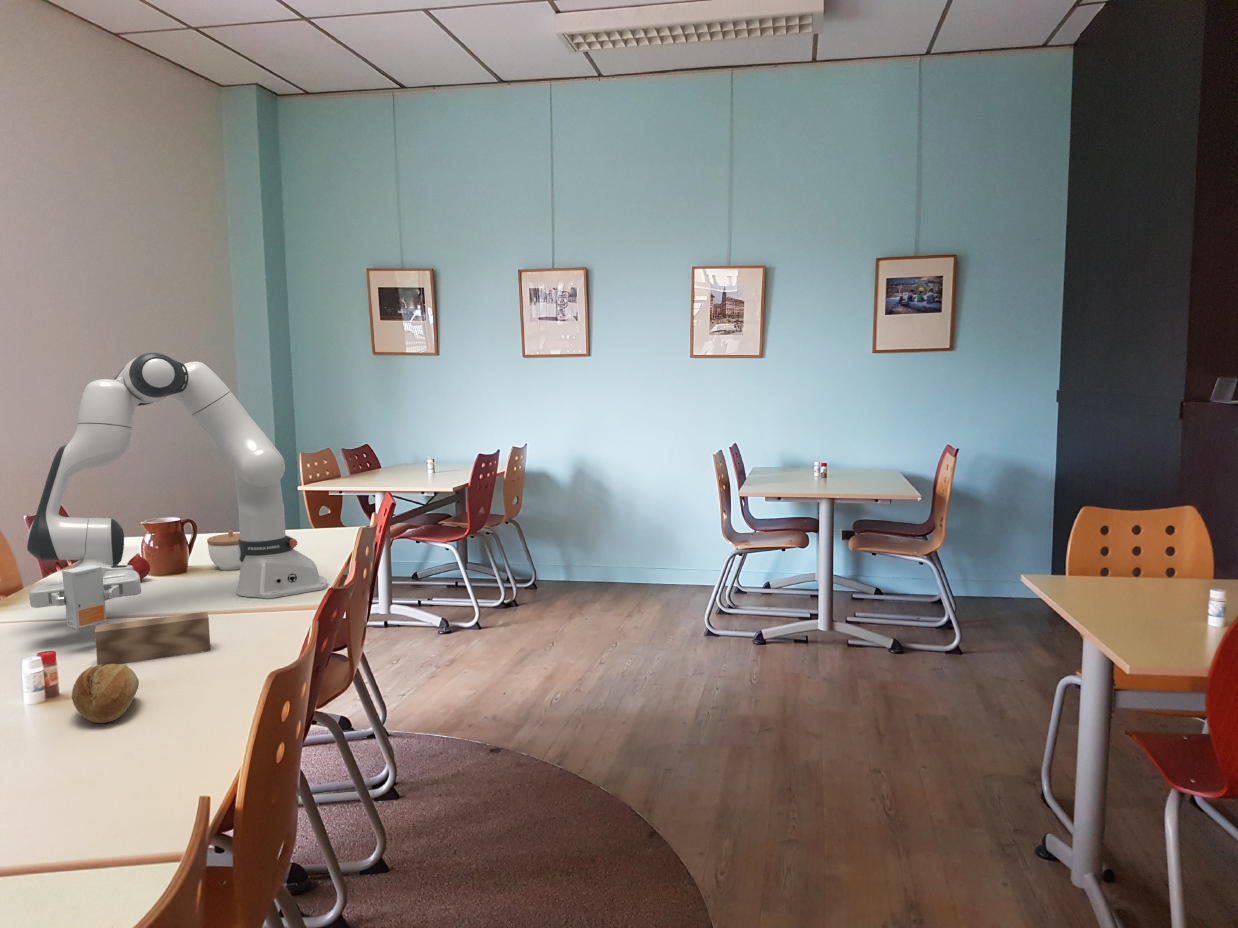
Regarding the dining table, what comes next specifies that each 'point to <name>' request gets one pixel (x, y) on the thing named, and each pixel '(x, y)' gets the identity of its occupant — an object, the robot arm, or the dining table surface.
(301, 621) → the dining table surface
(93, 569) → the skincare box
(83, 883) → the dining table surface
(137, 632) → the ridge
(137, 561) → the onion
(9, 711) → the dining table surface
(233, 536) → the lidded bowl
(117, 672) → the bread roll
